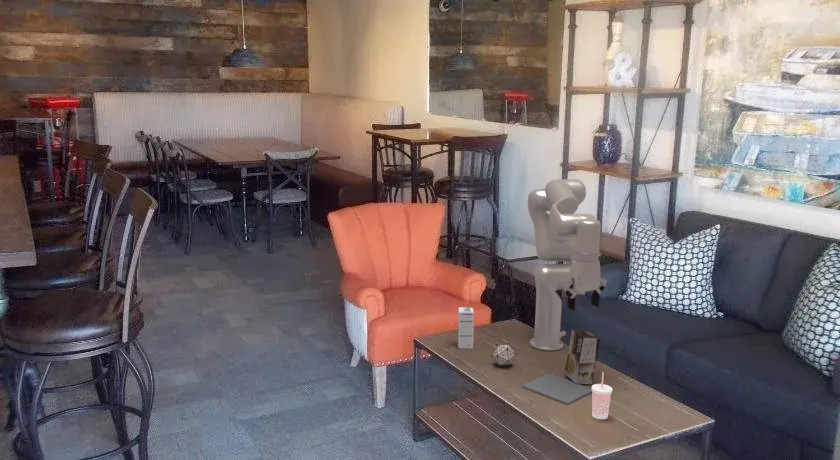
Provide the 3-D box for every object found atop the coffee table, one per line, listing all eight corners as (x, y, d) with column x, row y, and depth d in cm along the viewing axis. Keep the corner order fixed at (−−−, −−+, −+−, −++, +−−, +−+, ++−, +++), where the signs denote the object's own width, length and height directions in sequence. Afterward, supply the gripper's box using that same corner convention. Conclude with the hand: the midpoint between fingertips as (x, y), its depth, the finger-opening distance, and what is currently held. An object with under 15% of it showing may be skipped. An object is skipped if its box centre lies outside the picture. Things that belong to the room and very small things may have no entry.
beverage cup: (605, 410, 222) (608, 367, 219) (613, 419, 216) (617, 375, 214) (586, 412, 221) (589, 368, 218) (594, 421, 215) (597, 376, 213)
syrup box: (473, 348, 272) (474, 311, 269) (457, 348, 272) (458, 311, 269) (472, 343, 278) (473, 307, 275) (457, 343, 278) (458, 306, 275)
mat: (549, 375, 249) (549, 373, 249) (594, 391, 236) (594, 389, 236) (521, 387, 238) (521, 385, 238) (567, 404, 226) (567, 403, 226)
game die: (507, 376, 256) (515, 362, 249) (485, 366, 257) (493, 351, 250) (514, 358, 262) (522, 343, 255) (492, 348, 263) (500, 333, 256)
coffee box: (592, 384, 241) (601, 338, 239) (575, 384, 240) (583, 337, 237) (580, 374, 250) (588, 329, 247) (563, 373, 248) (571, 328, 246)
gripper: (600, 251, 242) (596, 301, 246) (557, 256, 235) (554, 307, 238) (615, 257, 235) (611, 307, 239) (571, 262, 228) (568, 314, 232)
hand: (583, 307), depth 239 cm, fingers open, 9 cm apart
